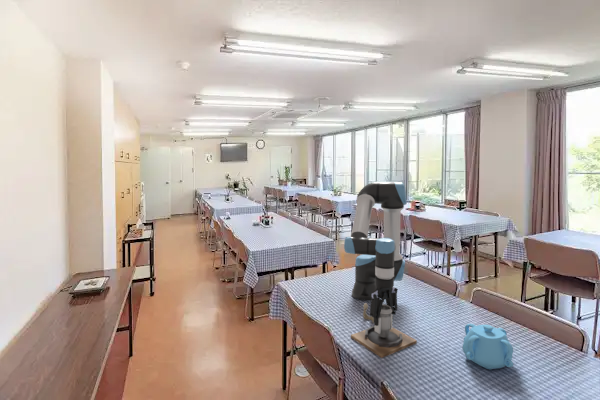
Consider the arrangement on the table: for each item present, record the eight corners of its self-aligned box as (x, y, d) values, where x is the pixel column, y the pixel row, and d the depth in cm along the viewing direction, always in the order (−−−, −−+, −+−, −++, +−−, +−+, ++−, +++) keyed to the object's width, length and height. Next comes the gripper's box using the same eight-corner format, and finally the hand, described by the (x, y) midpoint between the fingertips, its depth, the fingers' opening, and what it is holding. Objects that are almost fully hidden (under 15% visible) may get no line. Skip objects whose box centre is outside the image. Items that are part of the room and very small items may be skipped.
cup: (388, 340, 133) (389, 312, 132) (372, 336, 137) (373, 308, 135) (393, 333, 139) (394, 305, 138) (378, 329, 143) (378, 302, 142)
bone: (385, 318, 154) (376, 303, 152) (376, 328, 152) (367, 312, 149) (374, 312, 162) (365, 297, 159) (365, 322, 160) (356, 306, 157)
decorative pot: (513, 379, 112) (516, 342, 111) (461, 366, 120) (463, 330, 119) (510, 355, 127) (512, 321, 125) (463, 345, 134) (465, 313, 133)
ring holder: (384, 325, 151) (384, 319, 151) (416, 343, 136) (416, 336, 136) (350, 337, 141) (350, 331, 140) (381, 358, 125) (381, 351, 125)
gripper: (393, 270, 144) (392, 320, 146) (360, 278, 134) (360, 332, 136) (407, 274, 137) (406, 327, 140) (373, 283, 127) (373, 340, 130)
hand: (383, 329), depth 138 cm, fingers closed on cup, 6 cm apart
